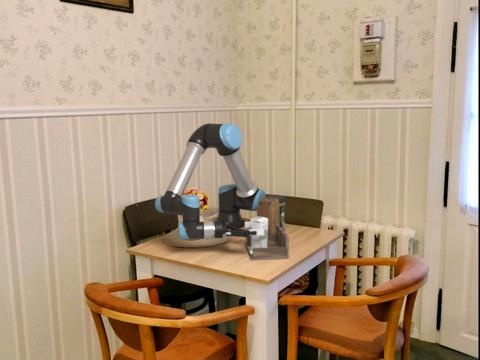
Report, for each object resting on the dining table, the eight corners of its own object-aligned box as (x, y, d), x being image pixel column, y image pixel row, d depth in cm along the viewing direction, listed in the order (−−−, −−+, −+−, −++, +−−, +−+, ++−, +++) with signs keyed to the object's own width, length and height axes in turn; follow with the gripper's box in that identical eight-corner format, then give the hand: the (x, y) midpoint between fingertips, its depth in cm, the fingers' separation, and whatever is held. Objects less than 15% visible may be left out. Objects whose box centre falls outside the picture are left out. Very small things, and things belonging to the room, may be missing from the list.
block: (280, 237, 224) (281, 198, 221) (272, 240, 218) (272, 200, 215) (262, 233, 230) (263, 195, 227) (254, 237, 224) (254, 198, 221)
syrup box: (257, 246, 204) (257, 215, 202) (268, 249, 201) (268, 217, 199) (249, 249, 200) (249, 218, 198) (260, 252, 196) (260, 220, 194)
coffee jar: (264, 229, 238) (264, 195, 235) (271, 226, 245) (271, 193, 242) (280, 232, 233) (280, 197, 230) (287, 229, 239) (287, 195, 236)
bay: (245, 245, 211) (244, 225, 209) (278, 243, 213) (278, 224, 211) (251, 260, 189) (251, 238, 188) (288, 258, 191) (288, 237, 190)
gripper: (212, 230, 209) (256, 228, 212) (215, 246, 185) (266, 244, 187) (211, 215, 208) (256, 213, 210) (215, 228, 183) (266, 226, 186)
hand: (261, 228), depth 199 cm, fingers open, 13 cm apart
